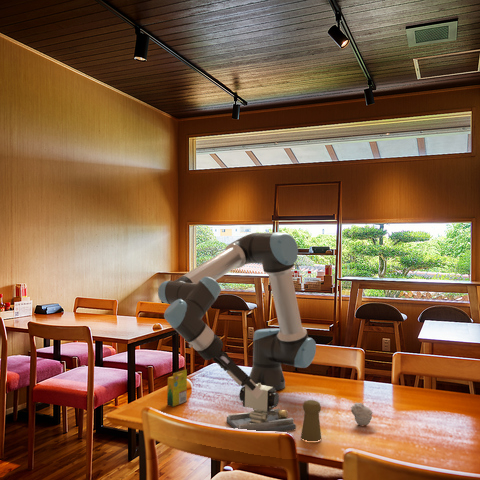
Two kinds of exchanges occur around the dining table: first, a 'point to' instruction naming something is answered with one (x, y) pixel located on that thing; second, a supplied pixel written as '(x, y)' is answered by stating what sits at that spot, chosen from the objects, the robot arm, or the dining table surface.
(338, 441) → the dining table surface
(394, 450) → the dining table surface
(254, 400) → the pneumatic valve
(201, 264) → the robot arm
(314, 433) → the olive pepper shaker
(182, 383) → the crayon box
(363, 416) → the gray rock
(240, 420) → the grey tray
